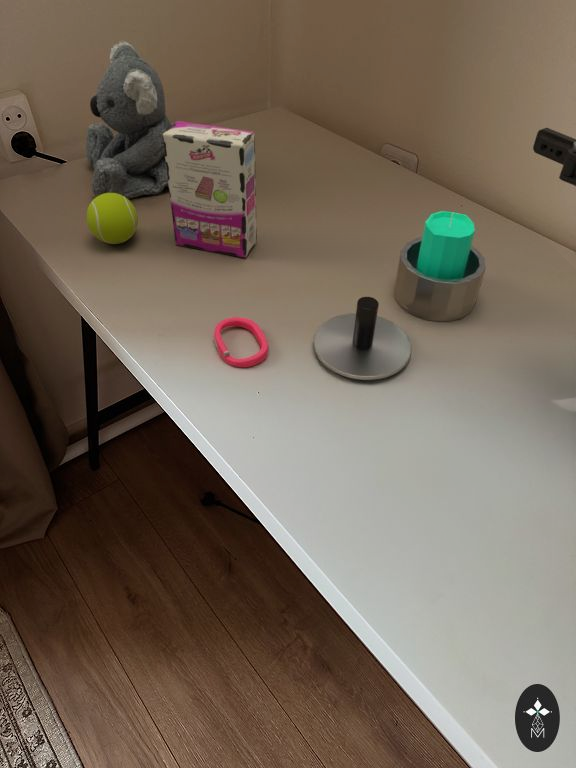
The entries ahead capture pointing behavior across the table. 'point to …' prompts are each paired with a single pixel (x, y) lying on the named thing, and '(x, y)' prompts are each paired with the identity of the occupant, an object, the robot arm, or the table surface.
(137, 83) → the koala plush
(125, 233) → the tennis ball
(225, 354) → the fitness band
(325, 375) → the table surface
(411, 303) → the tin
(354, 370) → the tin lid
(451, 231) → the candle
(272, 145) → the table surface
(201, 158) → the candy bar box
